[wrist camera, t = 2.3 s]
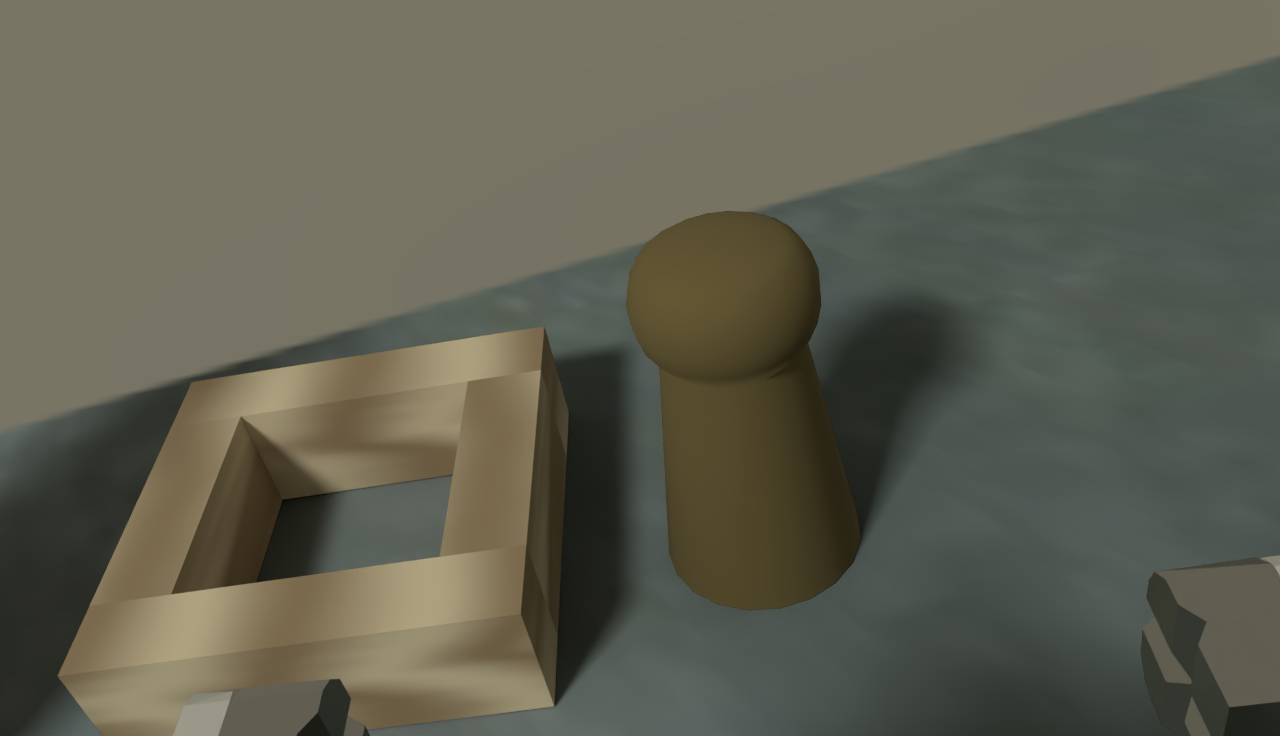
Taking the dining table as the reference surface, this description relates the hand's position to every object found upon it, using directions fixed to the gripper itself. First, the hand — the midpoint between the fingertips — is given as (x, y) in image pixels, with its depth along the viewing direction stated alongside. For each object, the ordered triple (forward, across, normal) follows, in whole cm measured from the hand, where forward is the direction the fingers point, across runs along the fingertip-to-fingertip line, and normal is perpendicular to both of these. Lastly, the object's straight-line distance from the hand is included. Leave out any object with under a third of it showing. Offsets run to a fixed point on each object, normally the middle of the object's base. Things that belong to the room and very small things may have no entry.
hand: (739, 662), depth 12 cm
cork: (+19, 0, +18) cm, 26 cm away
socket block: (+20, +13, +18) cm, 29 cm away
